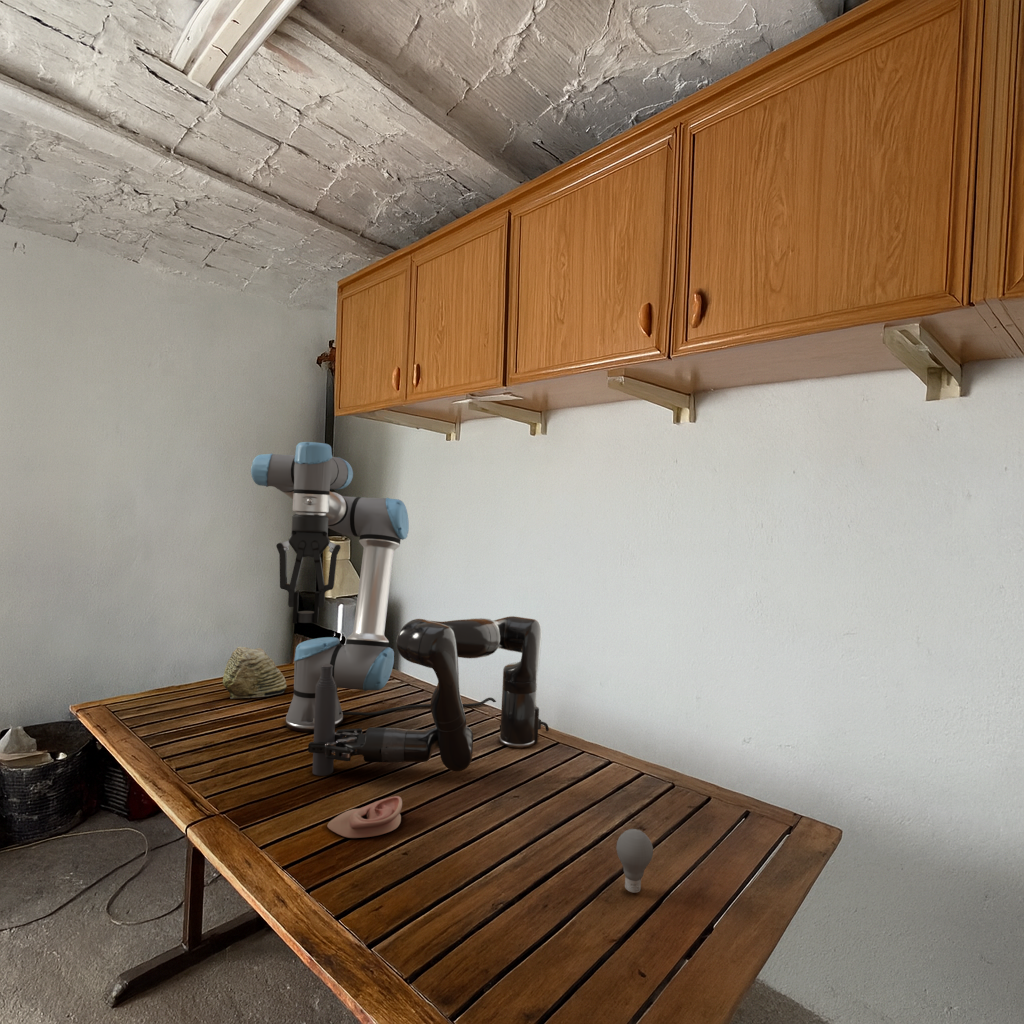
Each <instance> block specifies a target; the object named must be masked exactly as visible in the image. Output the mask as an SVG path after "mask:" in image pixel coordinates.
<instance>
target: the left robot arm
mask: <svg viewBox="0 0 1024 1024" xmlns="http://www.w3.org/2000/svg"><path fill="white" fill-rule="evenodd" d="M332 449H333V448H332V446H331V445H330V444H328V443H324V442H317V441H316V442H315V441H300V442H299V443H297V444H296V445H295V452H294V453H295V454H281V453H280V454H279V453H277V454H276V453H265V454H263V453H261V454H258V455H256V456H255V457H254V458H253V460H252V462H251V467H250V474H251V478H252V481H253V482H254V483H255V485H258V486H261V487H266V488H269V487H273V488H275V489H277V490H279V491H280V492H281V493H283V494H284V495H286V496H287V497H289V498H290V499H292V512H293V513H294V514H292V516H291V533H290V536H289V538H288V540H285V541H282V542H278V543H277V544H276V546H275V547H276V549H277V552H278V555H279V557H278V558H279V588H280V589H282V590H284V591H287V593H288V600H287V601H288V602H287V605H288V607H289V608H293V610H292V624H298V622H297V612H299V602H300V601H299V600H300V590H296V589H297V585H298V581H299V577H300V573H301V569H302V564H303V560H304V558H307V557H310V558H313V561H314V567H315V574H316V575H315V576H316V581H317V588H318V591H315V593H314V607H313V612H314V622H313V624H318V623H319V616H320V615H319V612H320V608H324V606H325V602H326V601H325V600H326V592H329V591H332V590H333V589H334V588H335V579H336V569H337V560H338V554H339V553H340V550H341V549H342V548H341V547H342V546H341V544H337V543H334V542H332V541H331V539H330V537H329V529H330V530H332V531H334V532H336V533H339V534H342V535H345V536H349V537H356V538H359V539H358V543H359V544H360V545H361V546H362V547H363V548H362V549H363V550H362V559H361V566H360V567H361V568H360V575H359V582H358V590H357V599H356V604H355V605H356V606H355V607H356V608H355V614H354V622H353V629H352V633H351V634H350V635H348V636H347V637H346V638H345V639H346V641H345V644H341V641H340V639H339V638H338V637H334V636H325V637H317V638H312V639H307V640H304V641H302V642H299V643H298V644H297V645H296V647H295V652H294V653H295V654H294V659H293V661H294V670H293V671H294V672H293V695H292V696H293V697H292V699H291V702H290V704H289V708H288V711H287V713H286V715H285V726H286V728H287V729H289V730H291V731H294V732H295V731H296V732H301V733H314V718H315V691H316V684H317V682H318V681H319V679H320V677H321V665H324V664H331V665H333V668H332V676H333V678H334V681H335V683H336V686H337V688H336V714H335V728H337V727H339V726H340V725H342V723H343V722H344V716H364V717H366V716H367V717H368V716H369V717H370V716H377V715H381V714H382V715H383V714H387V713H390V712H394V711H400V710H407V709H408V710H409V709H419V708H431V705H430V704H431V703H422V704H411V705H409V704H408V705H402V706H401V705H400V706H395V707H391V708H386V709H382V710H378V711H371V712H370V711H369V712H361V711H343V709H342V706H341V702H340V699H339V695H338V689H348V690H359V691H364V692H366V691H380V690H382V689H383V688H384V687H385V686H386V685H387V684H388V682H389V680H390V677H391V675H392V672H393V668H394V663H395V657H394V656H395V652H394V649H393V648H391V647H389V644H390V641H389V639H388V638H387V637H386V636H385V630H386V621H387V613H388V605H389V596H390V587H391V579H392V571H393V570H392V569H393V564H394V563H393V562H394V554H395V551H396V550H397V549H398V548H400V547H401V540H402V541H403V540H406V539H407V538H408V534H409V529H410V525H409V521H410V520H409V514H408V509H407V506H406V504H405V503H404V501H402V500H401V499H397V498H390V497H366V496H365V497H364V496H363V497H360V496H345V495H341V494H340V493H337V492H335V491H338V490H342V489H345V488H347V487H348V486H349V485H350V484H351V482H352V480H353V477H354V470H353V468H352V465H351V464H350V463H349V462H348V461H347V460H346V459H343V458H341V457H340V456H333V453H332V452H333V451H332ZM332 490H335V491H332ZM289 547H291V548H292V550H293V551H294V552H295V554H296V556H295V560H294V561H295V562H294V566H293V569H292V573H291V577H290V582H289V583H288V553H287V552H288V551H289V549H290V548H289ZM327 547H328V548H329V550H328V551H329V553H330V558H329V559H330V560H329V569H328V579H327V584H325V579H324V578H325V577H324V571H323V563H322V554H323V552H324V551H325V550H326V549H327ZM489 701H491V702H493V703H496V702H497V700H496V698H493V697H487V698H484V699H483V700H481V701H479V702H475V703H474V702H473V703H462V705H463V708H472V707H478V706H482V705H484V704H486V703H488V702H489Z"/></svg>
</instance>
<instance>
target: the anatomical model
mask: <svg viewBox="0 0 1024 1024" xmlns="http://www.w3.org/2000/svg"><path fill="white" fill-rule="evenodd" d="M402 808H403V799H402V797H401V796H399V795H395V796H389V797H385V798H383V799H379V800H376V801H374V802H372V803H369V804H367V805H365V806H362V807H359V808H353V809H349V810H346V811H344V812H341V813H340V814H338V815H337V816H335V817H334V818H332V819H331V820H330V821H329V822H328V823H327V828H328V829H329V830H330V831H331V832H333V833H335V834H337V835H339V836H340V837H341V836H342V837H344V838H347V839H360V838H370V837H371V838H372V837H377V836H382V835H384V834H387V833H390V832H392V831H394V830H396V829H397V828H398V827H399V826H400V824H401V822H402V815H401V811H402Z"/></svg>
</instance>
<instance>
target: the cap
mask: <svg viewBox="0 0 1024 1024" xmlns="http://www.w3.org/2000/svg"><path fill="white" fill-rule="evenodd" d="M297 623H299V624H300V623H301V624H311V623H312V624H313V623H314V610H300V611H299V610H298V612H297Z"/></svg>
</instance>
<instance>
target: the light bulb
mask: <svg viewBox="0 0 1024 1024" xmlns="http://www.w3.org/2000/svg"><path fill="white" fill-rule="evenodd" d="M615 849H616V854H617V857H618V859H619V861H620V863H621V865H622V867H623V873H624V874H623V875H624V876H625V878H624V888H625V890H627V891H628V892H630V893H634V894H635V893H639V892H640V891H641V889H642V887H641V886H642V879H643V877H644V875H645V871H646V868H647V867H648V866H649V864H650V863H651V861H652V859H653V855H654V847H653V843H652V841H651V838H649V836H648V835H647V834H646V833H645V832H643V831H642V830H641V829H636V828H629V829H627V830H625V831H623V832H622V833H621V834H620V835H619V837H618V839H617V841H616V847H615Z"/></svg>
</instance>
